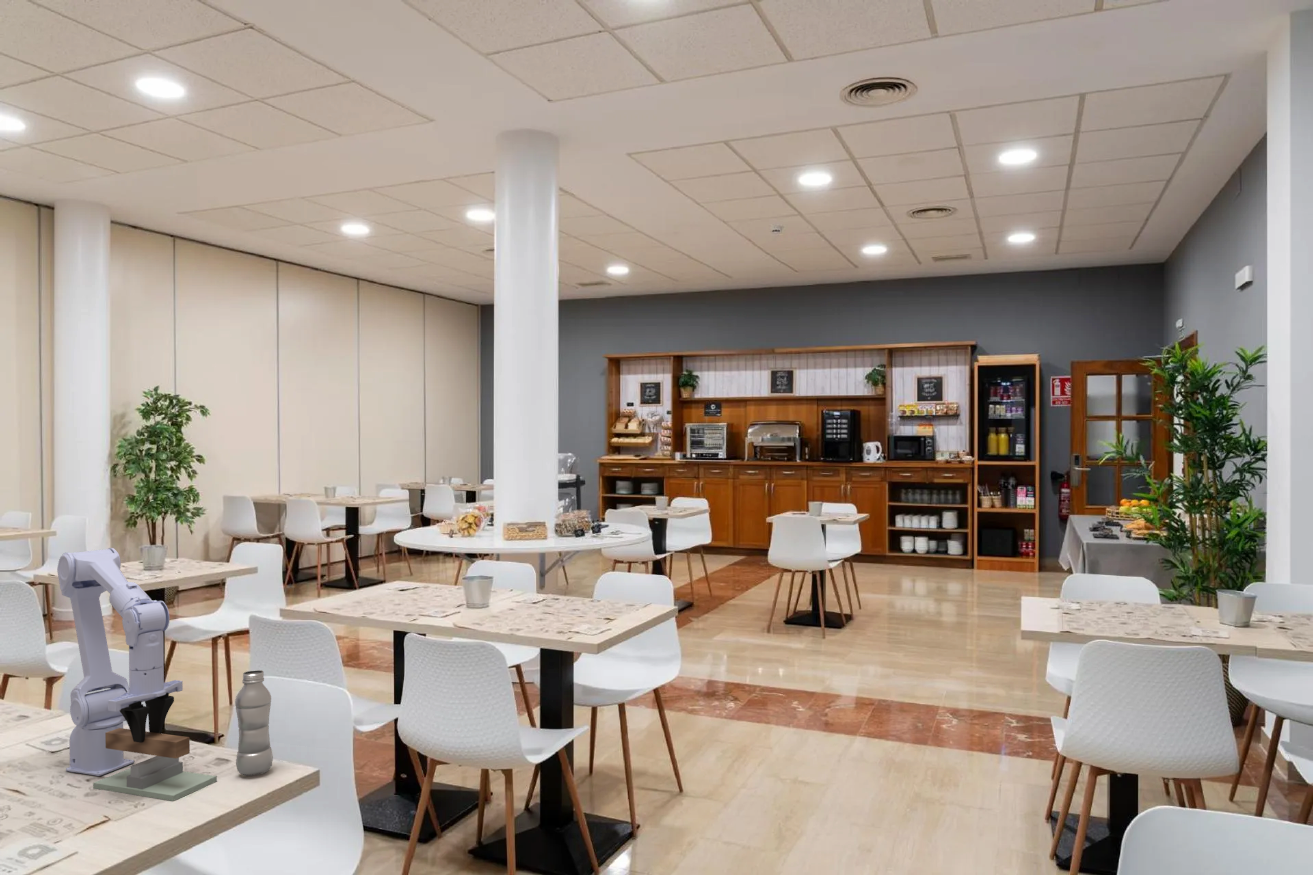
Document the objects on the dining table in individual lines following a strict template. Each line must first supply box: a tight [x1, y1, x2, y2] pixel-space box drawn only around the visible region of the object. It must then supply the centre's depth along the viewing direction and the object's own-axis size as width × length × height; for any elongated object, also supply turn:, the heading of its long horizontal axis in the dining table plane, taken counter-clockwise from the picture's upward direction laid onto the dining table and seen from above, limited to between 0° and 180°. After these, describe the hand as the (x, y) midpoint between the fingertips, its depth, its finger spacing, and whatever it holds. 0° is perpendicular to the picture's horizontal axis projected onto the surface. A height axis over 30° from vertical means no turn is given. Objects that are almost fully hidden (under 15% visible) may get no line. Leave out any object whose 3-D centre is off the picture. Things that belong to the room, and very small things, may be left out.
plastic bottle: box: [234, 669, 274, 777], centre depth 178 cm, size 6×7×20 cm
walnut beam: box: [105, 727, 191, 759], centre depth 171 cm, size 18×3×3 cm, turn 70°
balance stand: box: [92, 755, 218, 802], centre depth 173 cm, size 20×10×5 cm, turn 70°
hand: (147, 738), depth 171 cm, fingers closed on walnut beam, 3 cm apart
